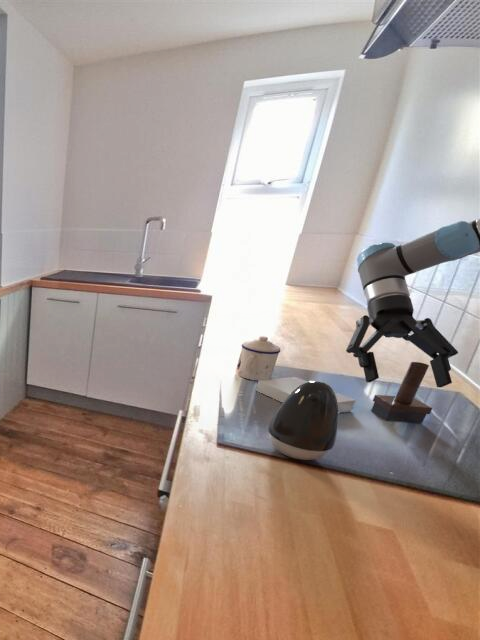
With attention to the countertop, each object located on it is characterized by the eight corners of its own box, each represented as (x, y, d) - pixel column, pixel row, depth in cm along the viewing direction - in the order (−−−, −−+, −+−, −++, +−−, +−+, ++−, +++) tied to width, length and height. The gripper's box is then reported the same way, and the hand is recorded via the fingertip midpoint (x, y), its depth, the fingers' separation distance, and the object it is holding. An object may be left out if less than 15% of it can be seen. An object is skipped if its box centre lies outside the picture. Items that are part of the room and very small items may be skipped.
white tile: (351, 411, 98) (355, 400, 96) (310, 416, 95) (314, 405, 94) (292, 387, 111) (295, 376, 110) (255, 391, 109) (258, 380, 107)
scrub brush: (406, 413, 97) (430, 360, 92) (424, 424, 92) (451, 369, 87) (368, 410, 98) (390, 358, 93) (384, 421, 93) (408, 367, 88)
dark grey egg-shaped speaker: (257, 453, 81) (280, 382, 75) (269, 434, 88) (290, 367, 82) (322, 474, 74) (353, 399, 68) (330, 452, 81) (358, 381, 75)
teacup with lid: (241, 367, 124) (251, 330, 120) (276, 376, 118) (288, 337, 113) (224, 377, 117) (235, 338, 113) (261, 387, 111) (273, 346, 106)
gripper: (435, 312, 101) (459, 393, 93) (319, 308, 106) (333, 384, 98) (465, 295, 94) (493, 380, 86) (339, 291, 99) (355, 371, 91)
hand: (408, 382), depth 92 cm, fingers open, 13 cm apart
